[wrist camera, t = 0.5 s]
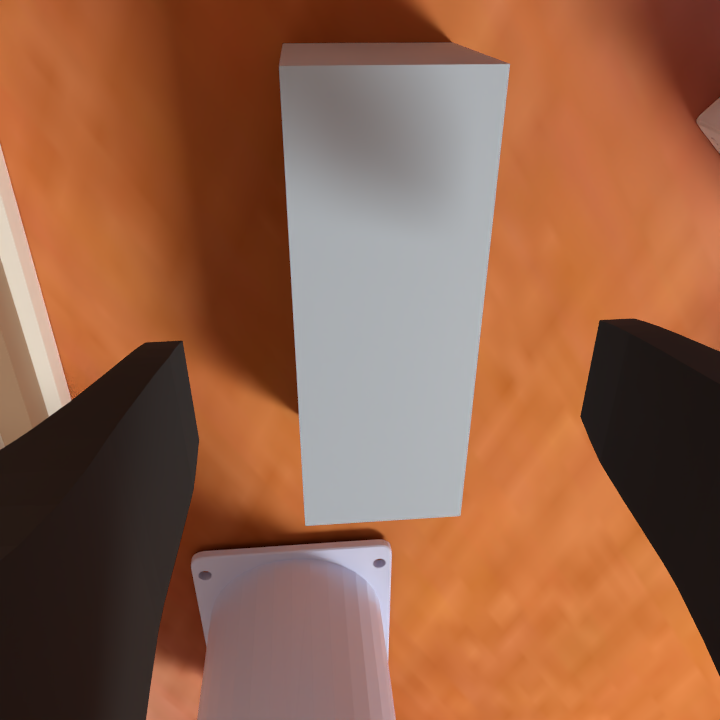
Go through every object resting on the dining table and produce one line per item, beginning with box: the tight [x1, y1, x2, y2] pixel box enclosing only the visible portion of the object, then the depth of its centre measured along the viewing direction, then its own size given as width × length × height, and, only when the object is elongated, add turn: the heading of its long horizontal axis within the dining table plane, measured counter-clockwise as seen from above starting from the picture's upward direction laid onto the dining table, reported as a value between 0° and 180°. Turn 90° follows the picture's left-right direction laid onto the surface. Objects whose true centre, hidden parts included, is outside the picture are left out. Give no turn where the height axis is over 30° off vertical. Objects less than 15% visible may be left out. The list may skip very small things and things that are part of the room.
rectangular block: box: [279, 42, 510, 526], centre depth 18 cm, size 12×4×6 cm, turn 0°
